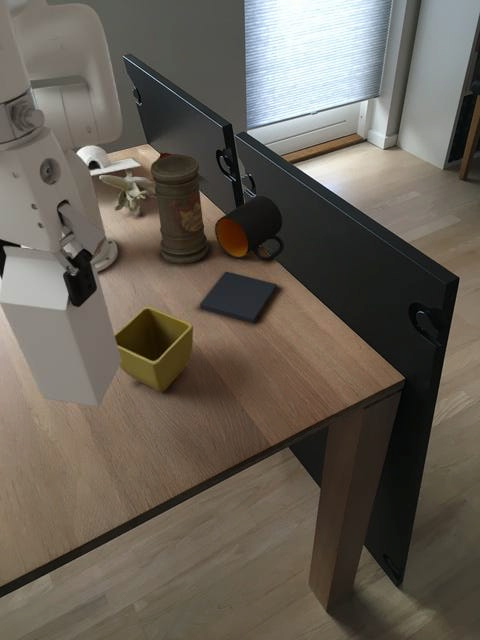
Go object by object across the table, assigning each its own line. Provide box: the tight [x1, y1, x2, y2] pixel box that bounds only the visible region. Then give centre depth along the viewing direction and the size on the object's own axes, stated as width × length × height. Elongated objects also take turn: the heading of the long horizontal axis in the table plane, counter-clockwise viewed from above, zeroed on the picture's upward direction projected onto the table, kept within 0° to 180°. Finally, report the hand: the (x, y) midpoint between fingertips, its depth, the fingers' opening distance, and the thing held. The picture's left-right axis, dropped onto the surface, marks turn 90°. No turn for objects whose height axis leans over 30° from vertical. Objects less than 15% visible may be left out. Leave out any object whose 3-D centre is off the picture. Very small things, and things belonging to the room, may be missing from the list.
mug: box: [214, 195, 285, 262], centre depth 102 cm, size 8×12×10 cm
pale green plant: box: [98, 168, 156, 217], centre depth 117 cm, size 9×16×15 cm
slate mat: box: [199, 271, 278, 324], centre depth 93 cm, size 10×10×1 cm
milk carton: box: [0, 246, 122, 408], centre depth 58 cm, size 7×7×19 cm
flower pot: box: [114, 305, 194, 393], centre depth 78 cm, size 9×9×9 cm
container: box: [150, 154, 209, 265], centre depth 99 cm, size 9×9×18 cm
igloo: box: [75, 145, 142, 177], centre depth 124 cm, size 20×20×5 cm
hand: (50, 286), depth 54 cm, fingers closed on milk carton, 8 cm apart
